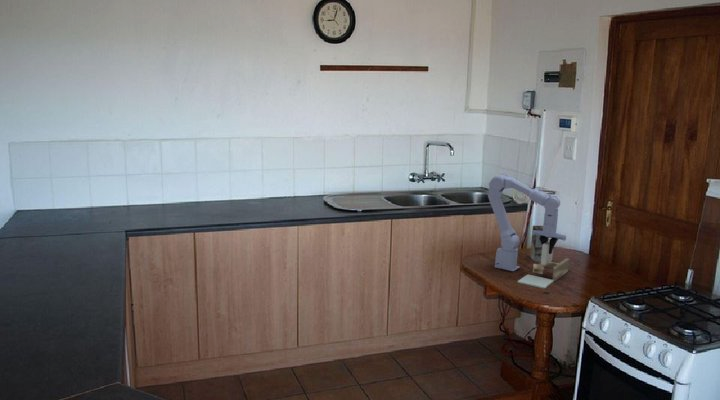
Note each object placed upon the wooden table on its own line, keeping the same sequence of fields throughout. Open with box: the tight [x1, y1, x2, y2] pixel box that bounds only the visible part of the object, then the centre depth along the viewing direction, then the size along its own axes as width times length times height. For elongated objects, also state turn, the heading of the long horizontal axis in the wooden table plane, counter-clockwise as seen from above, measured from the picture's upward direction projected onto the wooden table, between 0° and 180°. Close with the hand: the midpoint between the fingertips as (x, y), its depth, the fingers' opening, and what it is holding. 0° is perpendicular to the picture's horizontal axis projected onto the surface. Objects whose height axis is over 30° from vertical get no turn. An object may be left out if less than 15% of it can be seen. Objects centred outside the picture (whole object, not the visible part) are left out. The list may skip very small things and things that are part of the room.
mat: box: [517, 274, 555, 289], centre depth 264 cm, size 12×12×1 cm
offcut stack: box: [532, 263, 545, 275], centre depth 279 cm, size 5×8×2 cm, turn 160°
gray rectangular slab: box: [541, 241, 554, 265], centre depth 272 cm, size 2×10×9 cm, turn 145°
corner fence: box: [536, 257, 570, 282], centre depth 277 cm, size 14×19×6 cm
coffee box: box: [529, 225, 550, 263], centre depth 296 cm, size 9×6×16 cm
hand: (547, 252), depth 272 cm, fingers closed on gray rectangular slab, 2 cm apart
